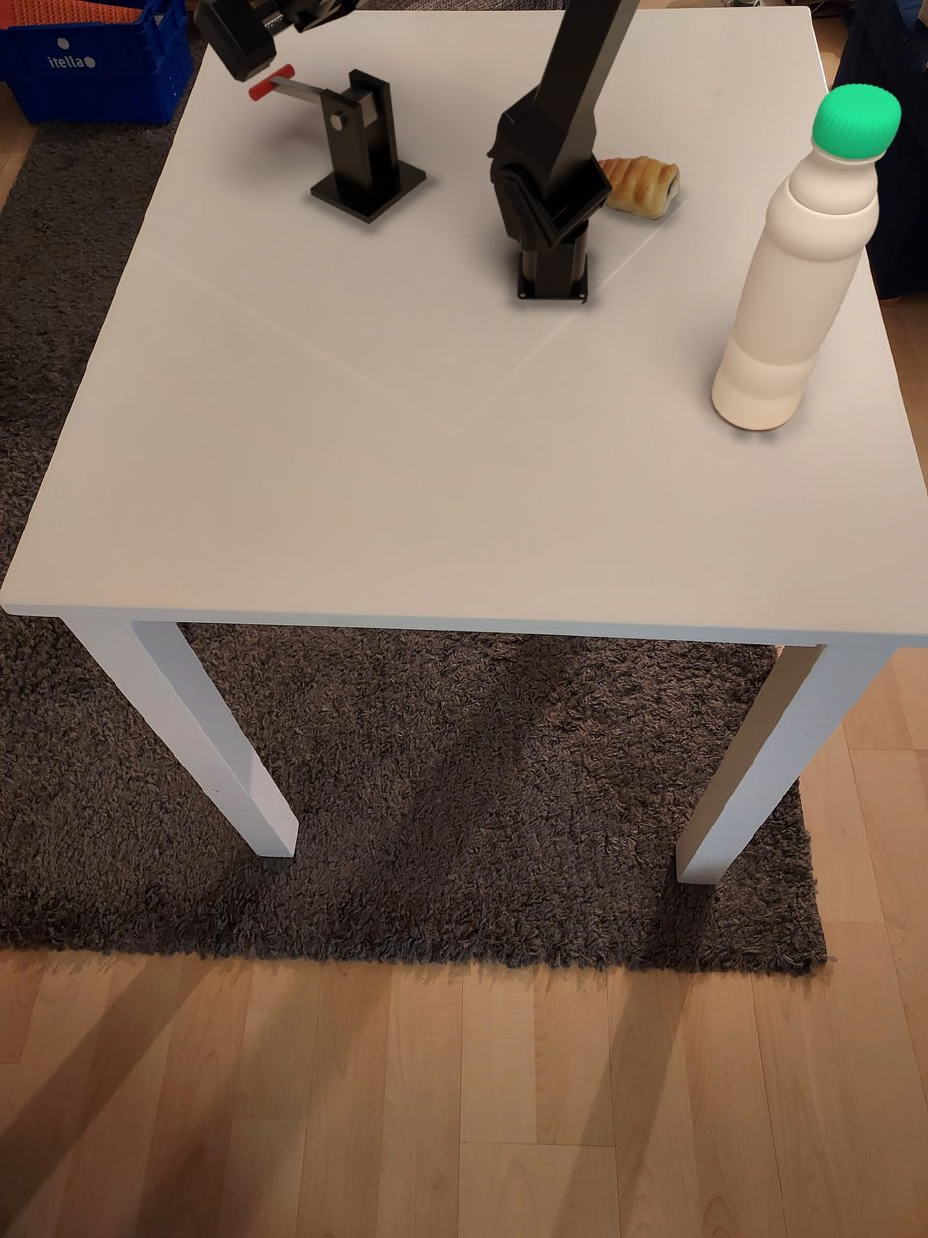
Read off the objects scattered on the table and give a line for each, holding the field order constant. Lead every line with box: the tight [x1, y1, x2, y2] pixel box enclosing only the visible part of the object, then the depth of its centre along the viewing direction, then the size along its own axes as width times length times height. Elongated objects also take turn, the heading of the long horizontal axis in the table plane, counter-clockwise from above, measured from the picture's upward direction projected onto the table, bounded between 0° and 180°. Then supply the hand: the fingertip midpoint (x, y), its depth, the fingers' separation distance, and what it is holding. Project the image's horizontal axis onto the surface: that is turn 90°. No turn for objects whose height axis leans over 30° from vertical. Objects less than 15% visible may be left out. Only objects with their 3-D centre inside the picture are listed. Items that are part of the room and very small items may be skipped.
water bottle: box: [711, 83, 902, 431], centre depth 60 cm, size 7×7×25 cm
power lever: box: [248, 63, 378, 127], centre depth 82 cm, size 14×6×2 cm, turn 51°
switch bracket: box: [309, 68, 427, 225], centre depth 82 cm, size 8×9×10 cm
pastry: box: [597, 155, 681, 220], centre depth 83 cm, size 9×7×4 cm
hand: (263, 48), depth 82 cm, fingers open, 9 cm apart
